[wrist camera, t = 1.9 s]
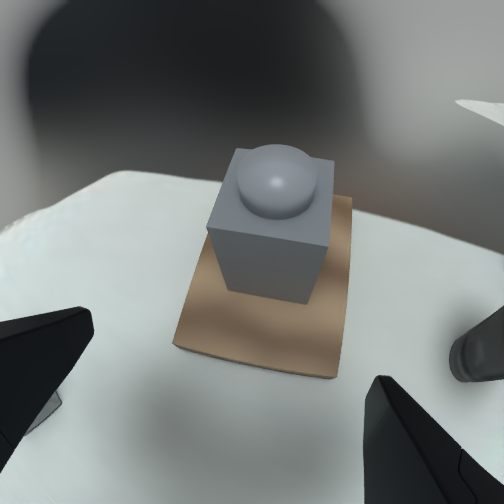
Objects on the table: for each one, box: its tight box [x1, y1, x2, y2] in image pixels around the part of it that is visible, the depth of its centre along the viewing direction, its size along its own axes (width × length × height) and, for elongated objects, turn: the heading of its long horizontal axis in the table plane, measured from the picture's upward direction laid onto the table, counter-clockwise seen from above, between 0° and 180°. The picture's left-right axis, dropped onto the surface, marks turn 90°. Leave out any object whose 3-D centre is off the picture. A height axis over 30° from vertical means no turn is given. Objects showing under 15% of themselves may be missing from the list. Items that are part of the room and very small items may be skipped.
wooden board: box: [172, 194, 352, 379], centre depth 21 cm, size 16×12×6 cm
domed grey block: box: [206, 144, 334, 305], centre depth 18 cm, size 6×6×10 cm
